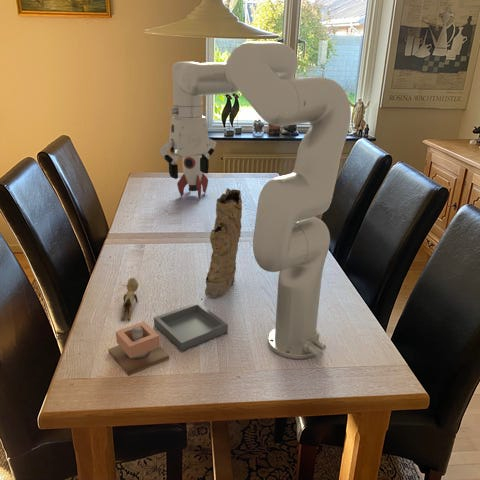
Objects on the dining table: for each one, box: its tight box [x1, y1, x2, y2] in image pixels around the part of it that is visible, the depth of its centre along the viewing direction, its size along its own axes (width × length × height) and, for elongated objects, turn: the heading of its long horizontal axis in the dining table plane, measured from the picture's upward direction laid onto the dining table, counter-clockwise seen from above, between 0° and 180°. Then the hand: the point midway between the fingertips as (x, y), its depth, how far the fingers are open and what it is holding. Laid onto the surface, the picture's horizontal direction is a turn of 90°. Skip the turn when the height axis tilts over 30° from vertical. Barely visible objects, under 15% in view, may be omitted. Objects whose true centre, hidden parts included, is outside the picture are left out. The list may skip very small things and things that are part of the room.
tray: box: [153, 301, 229, 353], centre depth 121 cm, size 13×13×3 cm
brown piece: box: [108, 327, 170, 377], centre depth 110 cm, size 10×10×7 cm
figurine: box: [121, 277, 139, 322], centre depth 130 cm, size 4×4×15 cm
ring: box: [115, 321, 161, 358], centre depth 109 cm, size 7×7×3 cm
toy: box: [177, 155, 209, 200], centre depth 211 cm, size 11×11×30 cm
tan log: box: [204, 188, 243, 299], centre depth 132 cm, size 14×10×30 cm
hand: (189, 175), depth 136 cm, fingers open, 9 cm apart
